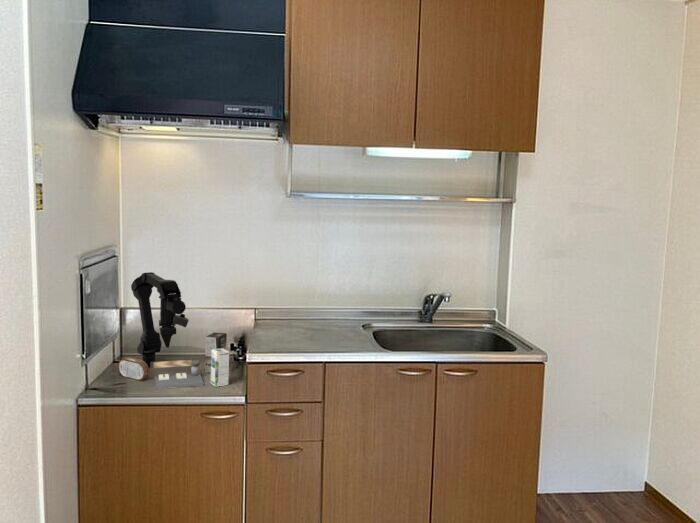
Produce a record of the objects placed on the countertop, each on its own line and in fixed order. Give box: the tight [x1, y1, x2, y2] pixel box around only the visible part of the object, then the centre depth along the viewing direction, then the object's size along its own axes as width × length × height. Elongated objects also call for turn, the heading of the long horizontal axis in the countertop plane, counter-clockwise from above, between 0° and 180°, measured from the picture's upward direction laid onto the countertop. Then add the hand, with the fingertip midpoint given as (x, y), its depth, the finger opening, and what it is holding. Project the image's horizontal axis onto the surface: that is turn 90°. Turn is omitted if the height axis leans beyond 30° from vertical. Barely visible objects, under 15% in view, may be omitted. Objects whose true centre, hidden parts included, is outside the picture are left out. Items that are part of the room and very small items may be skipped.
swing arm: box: [149, 358, 200, 370], centre depth 234 cm, size 20×4×2 cm, turn 111°
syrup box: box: [210, 349, 230, 388], centre depth 230 cm, size 6×6×14 cm
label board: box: [154, 366, 204, 389], centre depth 231 cm, size 14×18×5 cm
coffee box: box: [204, 332, 228, 373], centre depth 249 cm, size 9×6×16 cm
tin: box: [118, 356, 150, 381], centre depth 233 cm, size 15×3×8 cm, turn 65°
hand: (167, 346), depth 237 cm, fingers open, 4 cm apart
